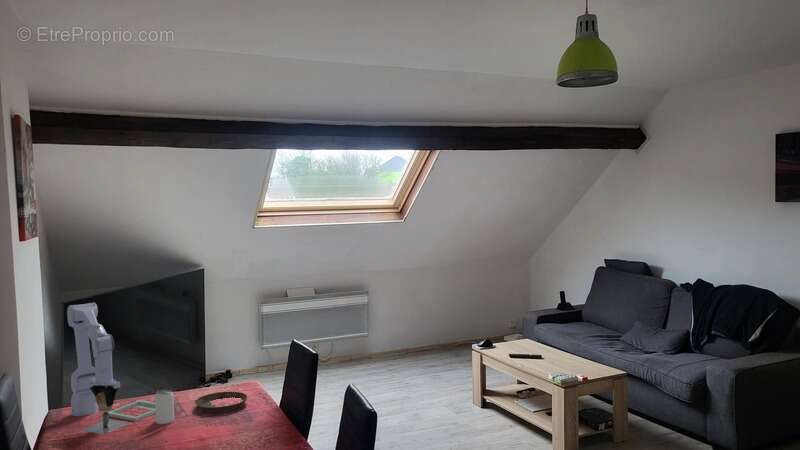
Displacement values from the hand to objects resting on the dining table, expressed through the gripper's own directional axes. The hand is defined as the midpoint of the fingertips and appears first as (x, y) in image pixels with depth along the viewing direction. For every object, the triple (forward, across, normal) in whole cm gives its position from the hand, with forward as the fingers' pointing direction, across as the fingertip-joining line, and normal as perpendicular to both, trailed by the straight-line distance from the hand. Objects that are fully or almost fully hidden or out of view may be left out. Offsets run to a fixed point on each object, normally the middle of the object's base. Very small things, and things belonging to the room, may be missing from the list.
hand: (105, 405), depth 221 cm
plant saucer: (+9, +23, +36) cm, 44 cm away
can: (+9, +16, +13) cm, 23 cm away
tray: (+9, -2, +16) cm, 18 cm away
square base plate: (+9, 0, 0) cm, 9 cm away
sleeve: (+2, 0, 0) cm, 2 cm away
